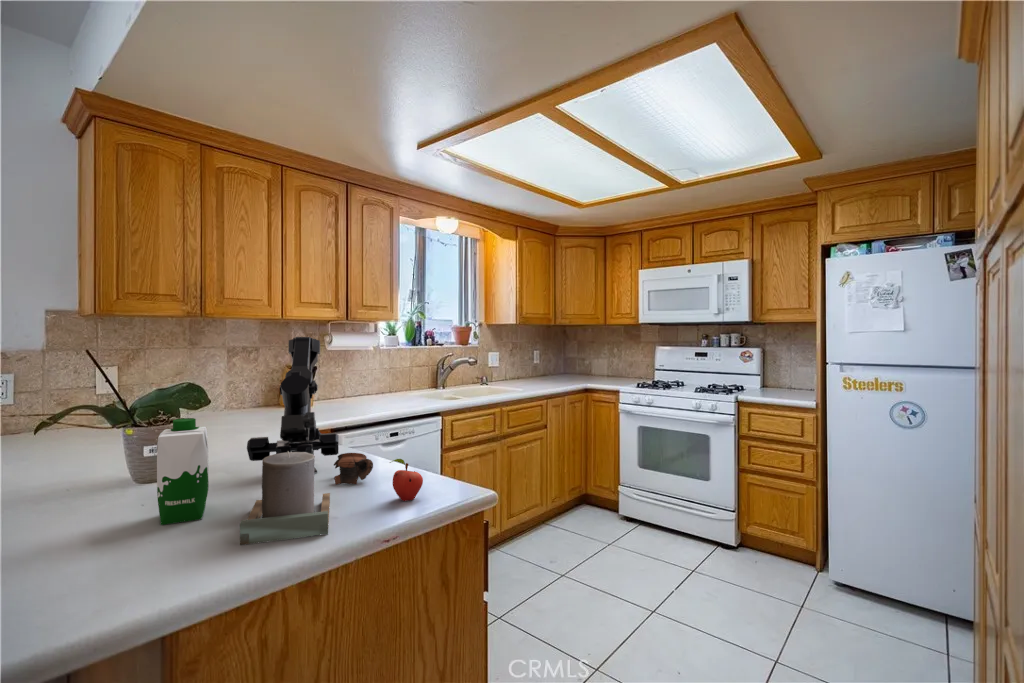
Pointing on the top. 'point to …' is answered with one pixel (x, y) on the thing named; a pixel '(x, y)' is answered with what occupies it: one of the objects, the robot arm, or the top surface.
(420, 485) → the apple
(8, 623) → the top surface
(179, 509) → the milk carton
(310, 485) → the pillar candle
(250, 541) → the channel
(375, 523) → the top surface
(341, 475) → the pottery mug
